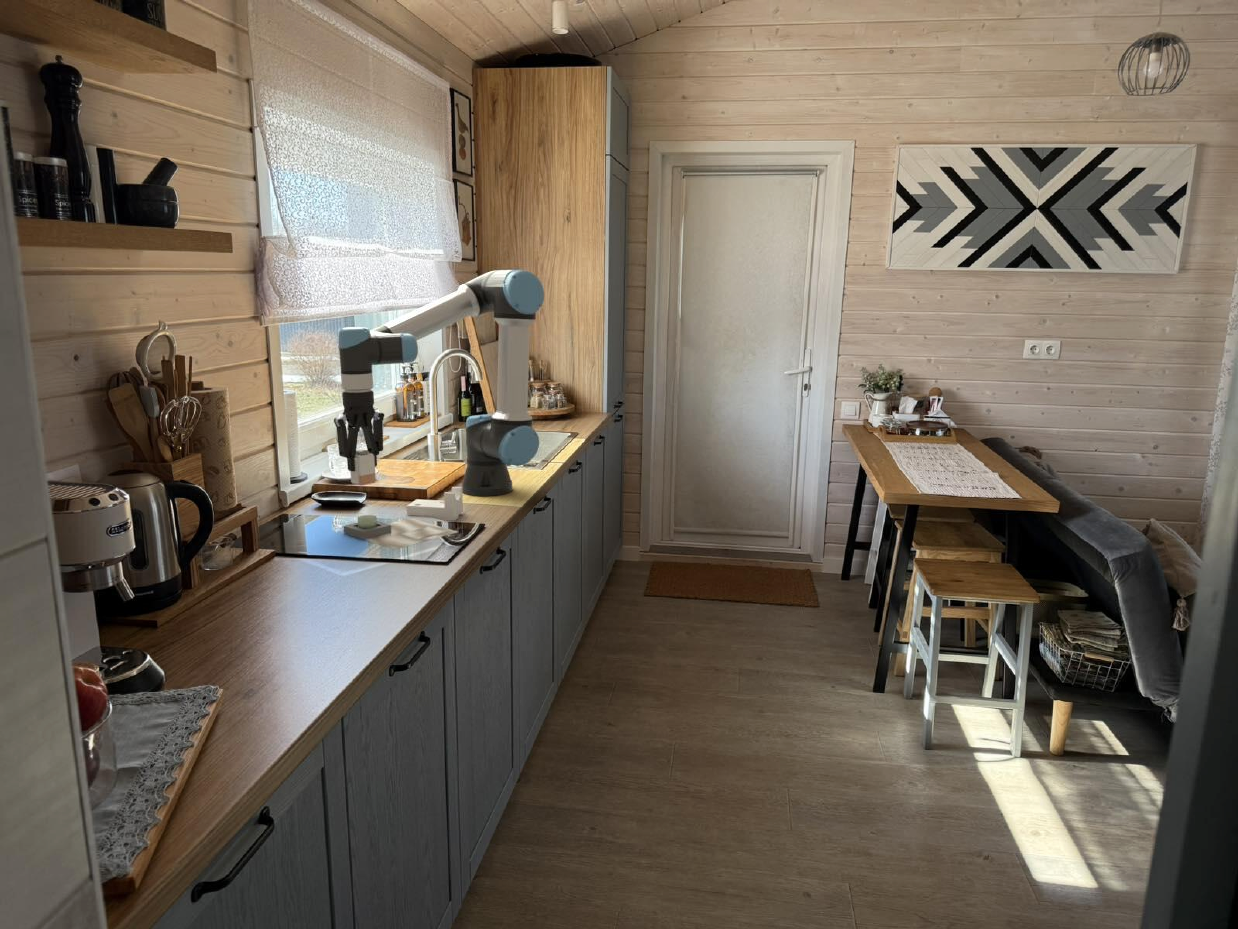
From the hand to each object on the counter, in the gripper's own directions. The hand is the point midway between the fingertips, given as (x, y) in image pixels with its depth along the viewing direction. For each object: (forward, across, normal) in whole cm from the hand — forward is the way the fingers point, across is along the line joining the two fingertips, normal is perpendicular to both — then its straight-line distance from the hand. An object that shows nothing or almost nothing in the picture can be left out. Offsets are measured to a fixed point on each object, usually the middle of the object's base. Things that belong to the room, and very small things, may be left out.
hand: (363, 481), depth 220 cm
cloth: (+11, 0, +16) cm, 19 cm away
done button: (+9, +6, +10) cm, 15 cm away
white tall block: (0, 0, 0) cm, 0 cm away
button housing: (+10, +6, +10) cm, 16 cm away
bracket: (+12, -17, +7) cm, 22 cm away
